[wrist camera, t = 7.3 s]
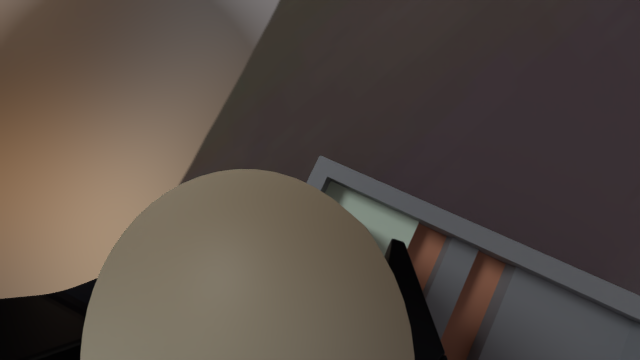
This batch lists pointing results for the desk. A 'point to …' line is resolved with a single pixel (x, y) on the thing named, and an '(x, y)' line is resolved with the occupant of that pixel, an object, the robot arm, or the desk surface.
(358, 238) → the beige tall rounded piece
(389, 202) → the box
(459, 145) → the desk surface
